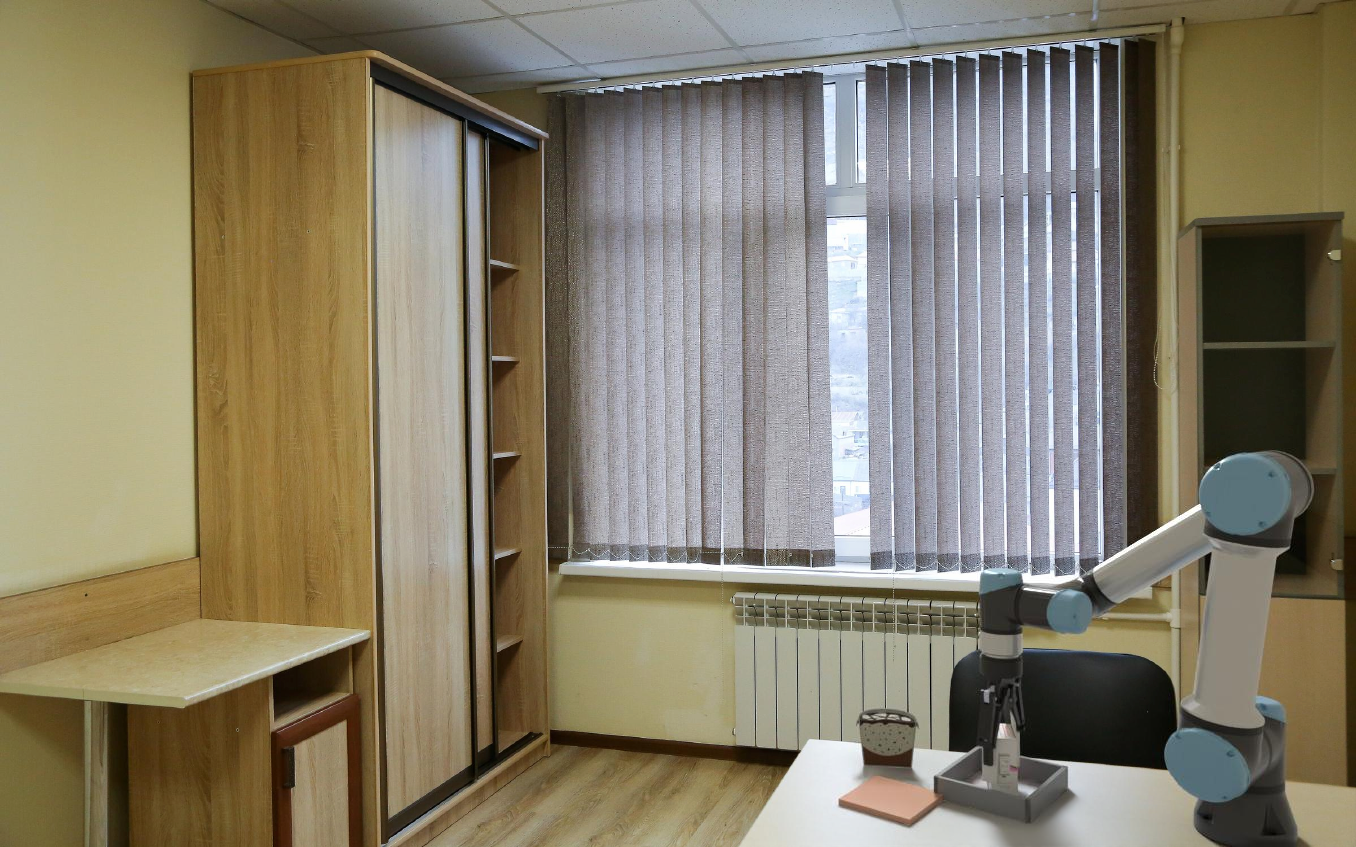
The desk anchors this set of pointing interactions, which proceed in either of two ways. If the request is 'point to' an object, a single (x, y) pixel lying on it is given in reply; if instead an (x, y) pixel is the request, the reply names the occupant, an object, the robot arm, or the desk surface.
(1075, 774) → the desk surface
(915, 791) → the terracotta tile
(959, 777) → the parts bin
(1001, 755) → the ink cartridge box
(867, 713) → the food container
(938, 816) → the desk surface
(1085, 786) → the desk surface
